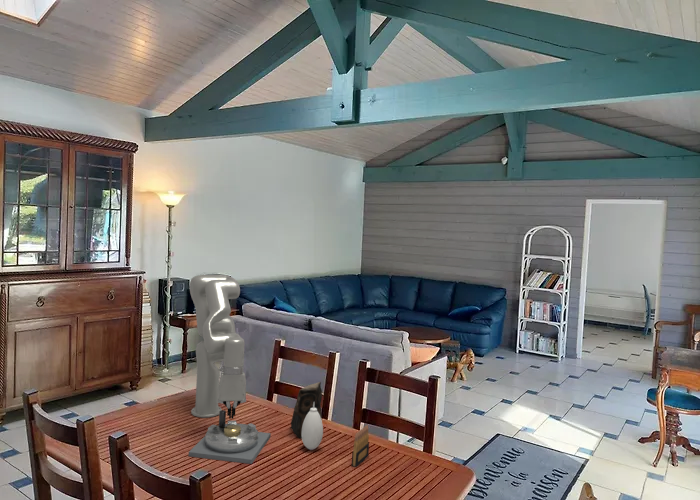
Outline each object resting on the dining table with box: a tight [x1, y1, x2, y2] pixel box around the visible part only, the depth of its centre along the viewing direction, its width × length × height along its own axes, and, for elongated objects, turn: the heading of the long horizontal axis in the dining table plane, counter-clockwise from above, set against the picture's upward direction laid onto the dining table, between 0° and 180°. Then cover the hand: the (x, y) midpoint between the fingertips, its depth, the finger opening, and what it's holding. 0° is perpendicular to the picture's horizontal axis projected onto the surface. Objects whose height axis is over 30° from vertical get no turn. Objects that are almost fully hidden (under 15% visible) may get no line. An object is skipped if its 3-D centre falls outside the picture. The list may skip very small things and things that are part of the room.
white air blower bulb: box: [301, 403, 324, 451], centre depth 188 cm, size 8×8×18 cm
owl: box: [290, 381, 323, 440], centre depth 201 cm, size 13×13×20 cm
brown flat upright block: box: [351, 424, 370, 468], centre depth 180 cm, size 11×2×12 cm, turn 154°
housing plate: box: [187, 431, 272, 465], centre depth 186 cm, size 23×23×2 cm
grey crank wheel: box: [205, 409, 259, 453], centre depth 186 cm, size 19×19×9 cm
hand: (231, 417), depth 192 cm, fingers closed
